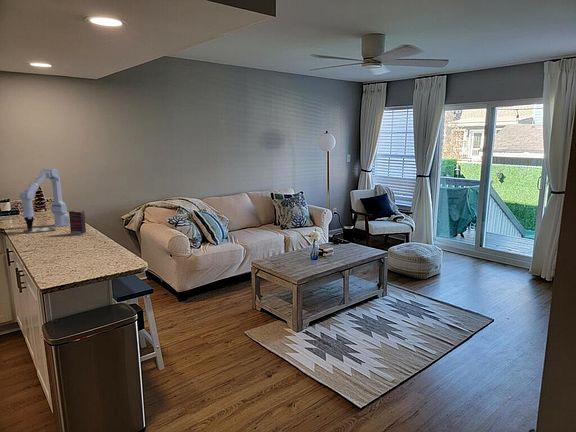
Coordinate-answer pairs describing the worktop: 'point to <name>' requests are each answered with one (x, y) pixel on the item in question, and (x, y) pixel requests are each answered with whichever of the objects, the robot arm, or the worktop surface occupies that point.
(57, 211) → the robot arm
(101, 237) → the worktop surface
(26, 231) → the clipboard
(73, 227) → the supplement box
